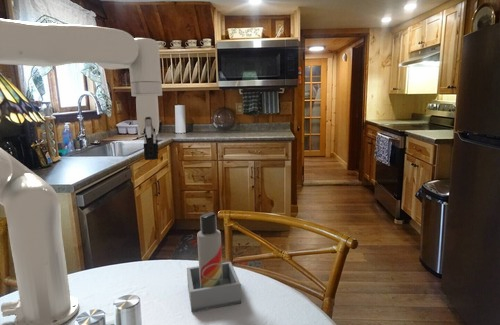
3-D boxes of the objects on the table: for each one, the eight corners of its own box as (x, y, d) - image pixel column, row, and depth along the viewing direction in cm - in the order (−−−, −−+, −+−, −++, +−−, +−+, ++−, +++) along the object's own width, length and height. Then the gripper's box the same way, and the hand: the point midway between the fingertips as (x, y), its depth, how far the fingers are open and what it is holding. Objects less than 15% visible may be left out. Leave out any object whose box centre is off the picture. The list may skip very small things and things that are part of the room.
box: (191, 312, 76) (190, 291, 75) (187, 285, 87) (186, 267, 86) (241, 303, 79) (240, 283, 78) (231, 278, 90) (230, 261, 89)
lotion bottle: (219, 297, 80) (215, 218, 76) (197, 295, 81) (192, 216, 78) (226, 285, 85) (222, 210, 82) (204, 283, 87) (200, 209, 83)
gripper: (134, 91, 92) (139, 153, 95) (127, 88, 76) (134, 163, 79) (162, 91, 94) (166, 151, 97) (161, 88, 78) (167, 160, 81)
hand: (152, 156), depth 88 cm, fingers open, 9 cm apart
